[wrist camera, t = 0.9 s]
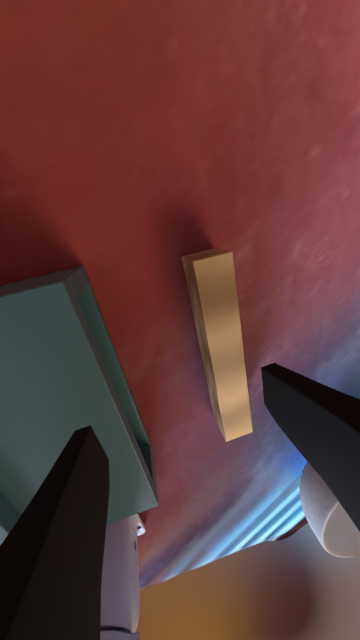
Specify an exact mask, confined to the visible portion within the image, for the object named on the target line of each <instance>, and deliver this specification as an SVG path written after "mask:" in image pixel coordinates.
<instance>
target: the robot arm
mask: <svg viewBox="0 0 360 640" xmlns="http://www.w3.org/2000/svg"><path fill="white" fill-rule="evenodd" d="M261 371H262V382H263V393H264V404H265V405H266V407H267V409H268V410H269V412H270V413H271V415H272V416H273V418H274V419H275V421H276V422H277V424H278V426H279V427H280V428H281V429H282V431H283V432H284V433H285V434H286V436H287V437H288V438H289V439H290V440H291V442H292V443H293V444H294V445H295V447H296V448H297V449H298V450H299V451H300V453H301V454H302V455H303V456H304V458H305V459H306V460H307V461H308V462H309V464H310V465H311V466H312V467H313V468H314V470H315V471H316V472H317V473H318V475H319V476H320V477H321V478H322V480H323V481H324V482H325V483H326V485H327V486H328V487H329V489H330V490H331V491H332V493H333V494H334V495H335V497H336V498H337V500H338V501H339V503H340V504H341V506H342V507H343V508H344V510H345V511H346V513H347V514H348V516H349V517H350V518H351V520H352V521H353V523H354V524H355V526H356V527H357V529H358V530H359V532H360V399H358V398H355V397H353V396H350V395H347V394H345V393H342V392H340V391H337V390H335V389H332V388H330V387H328V386H325V385H323V384H321V383H318V382H316V381H314V380H311V379H309V378H307V377H305V376H302V375H300V374H298V373H296V372H294V371H291V370H289V369H287V368H285V367H282V366H280V365H278V364H275V363H273V364H270V365H267V366H264V367H261ZM109 490H110V475H109V459H108V457H107V455H106V453H105V451H104V449H103V447H102V446H101V444H100V442H99V440H98V438H97V436H96V434H95V432H94V430H93V429H92V427H91V425H90V426H87V427H84V428H81V429H78V430H75V431H74V433H73V434H72V436H71V437H70V439H69V441H68V442H67V444H66V446H65V447H64V449H63V450H62V452H61V454H60V455H59V457H58V459H57V460H56V462H55V464H54V465H53V467H52V468H51V470H50V472H49V473H48V475H47V476H46V478H45V480H44V481H43V483H42V484H41V486H40V488H39V489H38V491H37V492H36V494H35V495H34V497H33V498H32V500H31V501H30V503H29V504H28V506H27V507H26V509H25V510H24V512H23V513H22V515H21V516H20V518H19V519H18V521H17V522H16V524H15V525H14V527H13V528H12V530H11V531H10V533H9V534H8V535H7V537H6V538H5V540H4V541H3V543H2V544H1V545H0V640H139V633H138V632H136V629H137V625H138V619H139V611H140V601H139V600H140V599H139V569H138V541H137V536H139V535H142V534H144V533H145V526H144V524H143V522H142V520H141V518H140V516H139V514H135V515H133V516H130V517H127V518H125V519H122V520H120V521H117V522H114V523H112V524H109V525H107V514H108V503H109ZM106 525H107V526H106ZM135 632H136V633H135Z"/></svg>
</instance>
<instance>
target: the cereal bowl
mask: <svg viewBox="0 0 360 640" xmlns="http://www.w3.org/2000/svg"><path fill="white" fill-rule="evenodd" d="M300 499H301V505H302V508H303V511H304V514H305V516H306V519H307V521H308V523H309V525H310V527H311V529H312V530H313V532H314V534H315V535H316V537H317V538H318V540H319V542H320V543H321V545H322V546H323V547H324V549H325V550H326V551H327V552H329V553H330V554H331V555H334V556H337V557H342V558H350V557H357V556H360V532H359V530H358V529H357V527H356V526H355V524H354V523H353V521H352V520H351V518H350V517H349V516H348V514H347V513H346V511H345V510H344V508H343V507H342V506H341V504H340V503H339V501H338V500H337V498H336V497H335V495H334V494H333V493H332V491H331V490H330V489H329V487H328V486H327V485H326V483H325V482H324V481H323V480H322V478H321V477H320V476H319V475H318V473H317V472H316V471H315V470H314V468H313V467H312V466H311V465H310V464H309V462H307V464H306V465H305V468H304V470H303V474H302V476H301V481H300Z"/></svg>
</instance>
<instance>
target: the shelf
mask: <svg viewBox="0 0 360 640" xmlns="http://www.w3.org/2000/svg"><path fill="white" fill-rule="evenodd" d="M90 425H91V427H92V429H93V430H94V432H95V434H96V436H97V438H98V440H99V442H100V444H101V446H102V447H103V449H104V451H105V453H106V455H107V457H108V459H109V475H110V490H109V503H108V514H107V525H109V524H112V523H114V522H117V521H120V520H122V519H125V518H127V517H130V516H133V515H135V514H138V513H140V512H143V511H146V510H148V509H151V508H153V507H156V506H158V505H159V503H158V495H157V486H156V478H155V469H154V461H153V452H152V445H151V442H150V439H149V437H148V434H147V431H146V429H145V426H144V424H143V421H142V418H141V416H140V413H139V410H138V408H137V405H136V403H135V400H134V397H133V395H132V392H131V389H130V387H129V384H128V382H127V379H126V376H125V374H124V371H123V368H122V366H121V363H120V361H119V358H118V355H117V353H116V350H115V347H114V345H113V342H112V339H111V337H110V334H109V332H108V329H107V326H106V324H105V321H104V318H103V316H102V313H101V311H100V308H99V305H98V303H97V300H96V297H95V295H94V292H93V290H92V287H91V284H90V282H89V279H88V276H87V274H86V271H85V269H84V266H78V267H74V268H70V269H66V270H62V271H58V272H54V273H49V274H45V275H41V276H37V277H33V278H29V279H25V280H21V281H17V282H12V283H8V284H4V285H0V544H2V543H3V541H4V540H5V538H6V537H7V535H8V534H9V533H10V531H11V530H12V528H13V527H14V525H15V524H16V522H17V521H18V519H19V518H20V516H21V515H22V513H23V512H24V510H25V509H26V507H27V506H28V504H29V503H30V501H31V500H32V498H33V497H34V495H35V494H36V492H37V491H38V489H39V488H40V486H41V484H42V483H43V481H44V480H45V478H46V476H47V475H48V473H49V472H50V470H51V468H52V467H53V465H54V464H55V462H56V460H57V459H58V457H59V455H60V454H61V452H62V450H63V449H64V447H65V446H66V444H67V442H68V441H69V439H70V437H71V436H72V434H73V433H74V431H75V430H78V429H81V428H84V427H87V426H90ZM107 525H106V526H107Z"/></svg>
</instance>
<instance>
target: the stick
mask: <svg viewBox="0 0 360 640" xmlns="http://www.w3.org/2000/svg"><path fill="white" fill-rule="evenodd" d="M181 258H182V263H183V267H184V272H185V277H186V282H187V287H188V292H189V297H190V302H191V307H192V312H193V317H194V322H195V327H196V332H197V336H198V341H199V346H200V351H201V356H202V361H203V366H204V371H205V376H206V381H207V386H208V391H209V396H210V401H211V406H212V410H213V415H214V418H215V420H216V422H217V424H218V426H219V428H220V430H221V432H222V434H223V436H224V439H225V441H226V442H227V441H230V440H233V439H235V438H238V437H241V436H244V435H246V434H249V433H252V432H253V430H252V421H251V412H250V403H249V394H248V385H247V376H246V368H245V359H244V350H243V341H242V332H241V323H240V314H239V305H238V296H237V287H236V278H235V269H234V260H233V252H232V251H227V250H221V249H216V248H212V249H209V250H205V251H201V252H197V253H193V254H189V255H185V256H182V257H181Z"/></svg>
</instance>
